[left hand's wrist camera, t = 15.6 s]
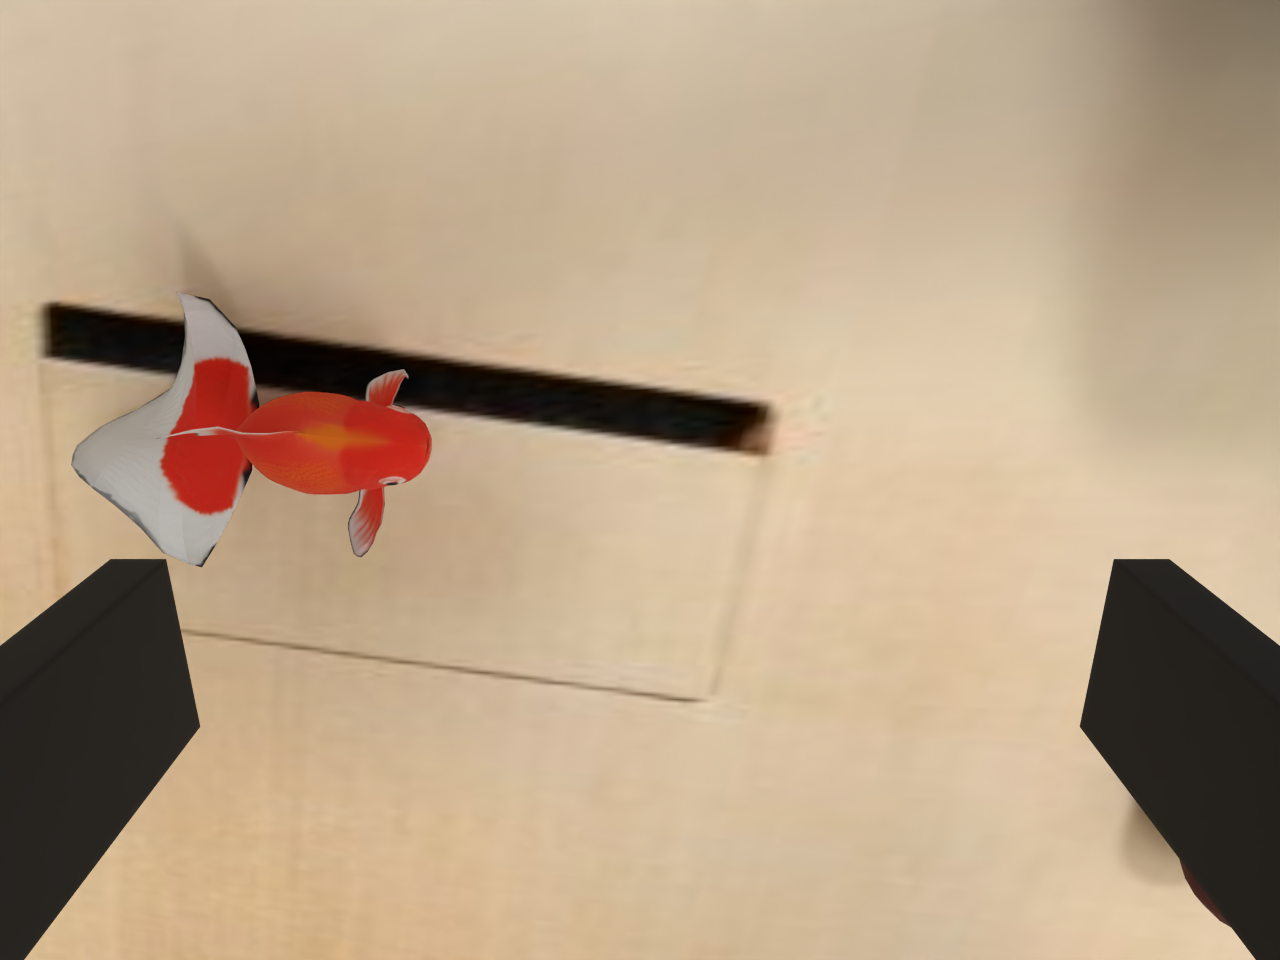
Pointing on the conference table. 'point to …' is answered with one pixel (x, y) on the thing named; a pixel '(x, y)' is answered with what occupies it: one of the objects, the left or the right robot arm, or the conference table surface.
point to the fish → (246, 445)
